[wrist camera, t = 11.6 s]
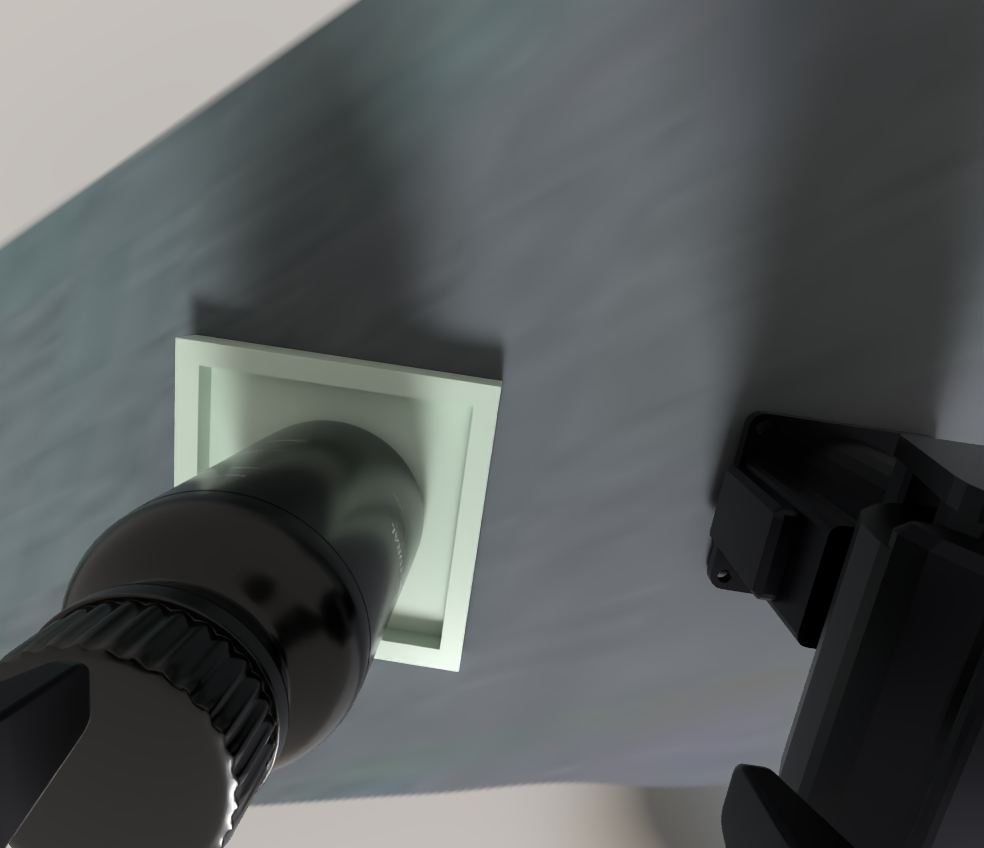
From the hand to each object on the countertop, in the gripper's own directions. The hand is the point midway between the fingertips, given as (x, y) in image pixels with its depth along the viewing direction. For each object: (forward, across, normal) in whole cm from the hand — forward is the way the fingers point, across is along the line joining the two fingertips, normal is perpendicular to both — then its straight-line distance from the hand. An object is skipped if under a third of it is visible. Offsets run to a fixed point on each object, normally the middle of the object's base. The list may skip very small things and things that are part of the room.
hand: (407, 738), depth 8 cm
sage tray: (+13, +5, +2) cm, 14 cm away
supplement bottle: (+13, +5, +2) cm, 14 cm away
